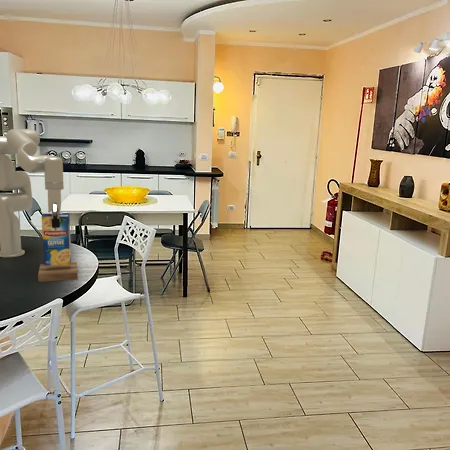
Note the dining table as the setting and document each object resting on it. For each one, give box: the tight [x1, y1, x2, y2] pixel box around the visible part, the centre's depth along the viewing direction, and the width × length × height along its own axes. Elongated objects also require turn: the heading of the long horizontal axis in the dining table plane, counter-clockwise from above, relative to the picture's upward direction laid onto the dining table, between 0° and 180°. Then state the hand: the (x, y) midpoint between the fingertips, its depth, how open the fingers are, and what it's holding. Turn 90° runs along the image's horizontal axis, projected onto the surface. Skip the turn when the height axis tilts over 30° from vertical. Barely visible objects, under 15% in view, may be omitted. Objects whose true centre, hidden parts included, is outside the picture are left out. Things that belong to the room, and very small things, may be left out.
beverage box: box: [40, 212, 72, 266], centre depth 195 cm, size 7×11×22 cm, turn 105°
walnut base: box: [37, 261, 78, 283], centre depth 199 cm, size 16×16×3 cm
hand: (56, 225), depth 194 cm, fingers closed on beverage box, 7 cm apart
